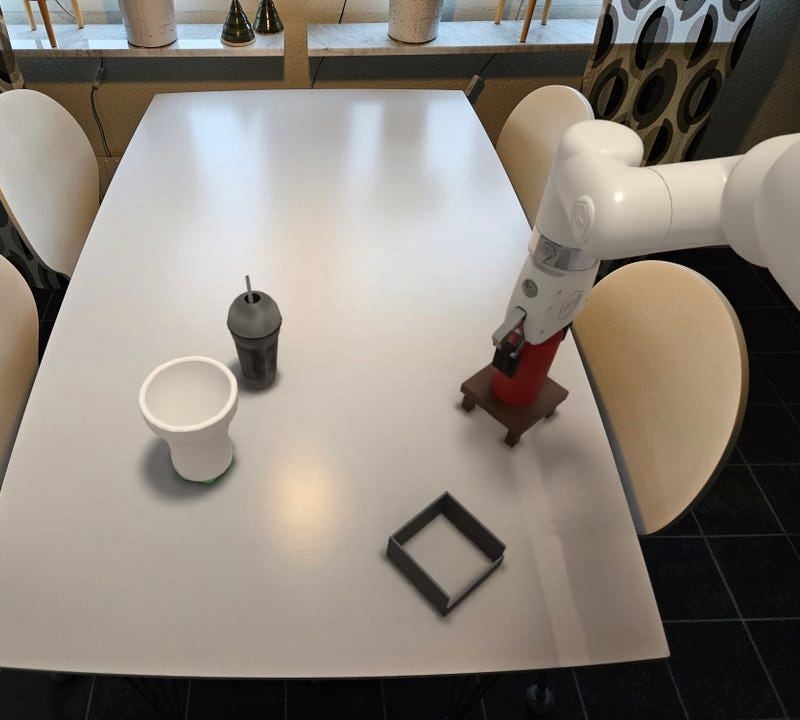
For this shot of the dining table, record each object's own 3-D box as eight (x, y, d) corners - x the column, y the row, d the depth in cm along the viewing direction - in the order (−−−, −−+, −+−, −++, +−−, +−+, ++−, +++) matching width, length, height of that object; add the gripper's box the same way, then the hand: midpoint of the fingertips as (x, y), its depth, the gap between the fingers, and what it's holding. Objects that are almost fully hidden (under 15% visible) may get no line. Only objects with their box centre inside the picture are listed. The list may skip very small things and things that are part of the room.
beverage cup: (290, 362, 95) (285, 255, 80) (279, 400, 90) (272, 293, 76) (242, 356, 96) (228, 248, 81) (229, 393, 91) (212, 286, 76)
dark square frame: (500, 565, 74) (509, 547, 71) (444, 617, 70) (451, 600, 67) (441, 509, 79) (446, 490, 76) (385, 555, 75) (389, 536, 72)
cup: (142, 464, 83) (117, 395, 73) (205, 412, 89) (191, 340, 78) (202, 515, 78) (184, 448, 68) (265, 457, 84) (258, 387, 74)
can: (549, 389, 86) (574, 331, 77) (518, 414, 83) (540, 355, 75) (511, 362, 89) (531, 303, 81) (480, 384, 86) (497, 325, 78)
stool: (558, 414, 89) (569, 391, 85) (512, 453, 85) (521, 430, 81) (502, 372, 94) (510, 349, 91) (455, 406, 90) (461, 383, 86)
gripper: (545, 294, 62) (506, 405, 75) (644, 227, 70) (594, 338, 82) (485, 256, 66) (458, 367, 79) (586, 196, 74) (546, 307, 86)
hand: (528, 352), depth 81 cm, fingers open, 9 cm apart
